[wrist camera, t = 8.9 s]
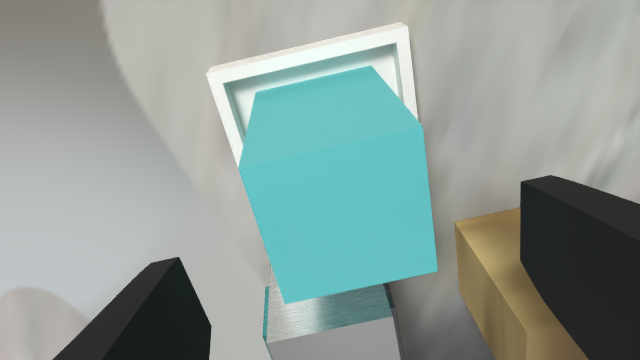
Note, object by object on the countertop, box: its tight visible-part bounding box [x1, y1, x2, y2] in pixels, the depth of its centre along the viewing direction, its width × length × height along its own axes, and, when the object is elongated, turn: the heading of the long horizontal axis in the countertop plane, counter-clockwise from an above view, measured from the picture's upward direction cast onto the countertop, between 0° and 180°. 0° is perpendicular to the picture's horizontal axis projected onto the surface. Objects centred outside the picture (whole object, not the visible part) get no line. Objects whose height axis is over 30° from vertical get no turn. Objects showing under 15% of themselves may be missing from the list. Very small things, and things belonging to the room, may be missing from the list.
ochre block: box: [454, 208, 589, 360], centre depth 16 cm, size 4×4×6 cm
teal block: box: [238, 65, 438, 304], centre depth 12 cm, size 4×4×6 cm
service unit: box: [263, 263, 404, 360], centre depth 16 cm, size 4×5×5 cm
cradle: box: [206, 22, 418, 167], centre depth 15 cm, size 6×6×1 cm
